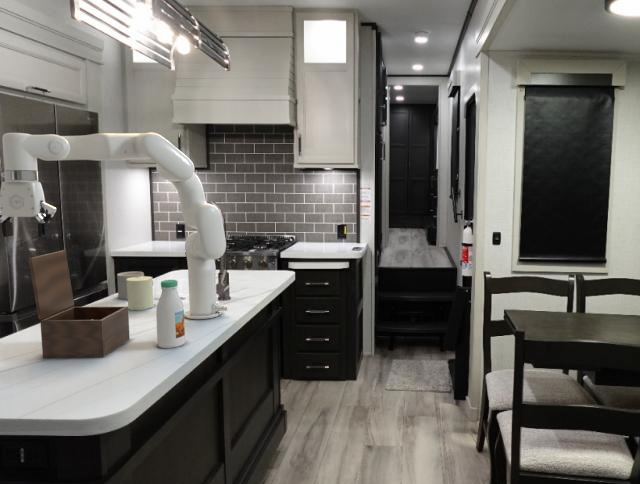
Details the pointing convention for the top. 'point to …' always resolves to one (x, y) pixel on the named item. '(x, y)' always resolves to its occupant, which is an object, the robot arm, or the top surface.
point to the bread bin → (84, 332)
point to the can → (140, 293)
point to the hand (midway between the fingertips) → (25, 236)
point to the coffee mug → (125, 282)
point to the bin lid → (51, 283)
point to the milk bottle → (170, 316)
